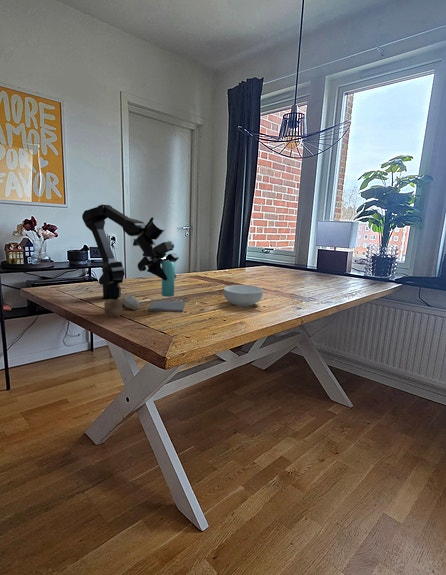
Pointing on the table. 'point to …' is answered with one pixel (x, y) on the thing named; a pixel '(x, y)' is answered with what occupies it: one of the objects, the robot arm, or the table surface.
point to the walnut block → (113, 307)
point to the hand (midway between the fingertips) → (170, 279)
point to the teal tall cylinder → (168, 278)
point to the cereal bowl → (243, 294)
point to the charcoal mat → (167, 306)
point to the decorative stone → (130, 302)
